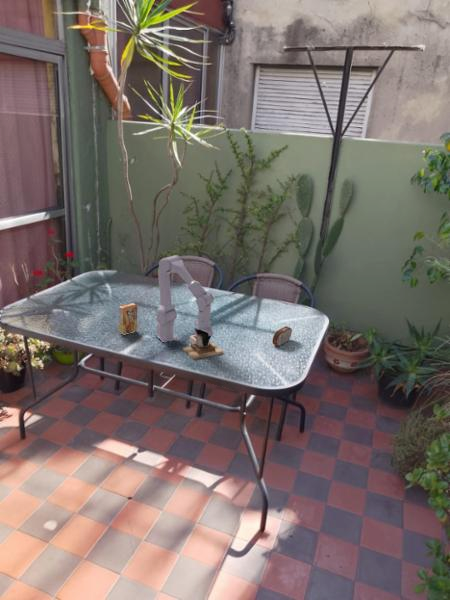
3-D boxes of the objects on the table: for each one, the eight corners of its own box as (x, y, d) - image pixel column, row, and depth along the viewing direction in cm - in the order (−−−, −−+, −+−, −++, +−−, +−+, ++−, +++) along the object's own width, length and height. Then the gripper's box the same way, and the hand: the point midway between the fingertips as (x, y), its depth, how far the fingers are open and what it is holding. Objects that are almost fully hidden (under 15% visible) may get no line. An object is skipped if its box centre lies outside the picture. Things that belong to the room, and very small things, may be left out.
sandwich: (286, 338, 241) (288, 323, 238) (292, 340, 239) (293, 325, 236) (271, 346, 230) (272, 331, 227) (276, 348, 228) (278, 333, 225)
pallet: (182, 349, 221) (182, 343, 220) (211, 343, 229) (211, 338, 228) (194, 359, 211) (194, 353, 210) (223, 353, 219) (223, 347, 218)
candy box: (132, 329, 241) (132, 302, 236) (137, 332, 238) (137, 304, 233) (119, 333, 235) (118, 306, 229) (123, 336, 232) (123, 308, 227)
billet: (195, 347, 220) (196, 334, 217) (204, 345, 222) (205, 332, 220) (199, 350, 216) (200, 337, 214) (208, 348, 219) (209, 335, 217)
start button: (194, 339, 230) (194, 333, 229) (200, 338, 232) (200, 332, 230) (197, 342, 227) (197, 335, 226) (203, 341, 229) (203, 334, 228)
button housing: (189, 341, 231) (189, 335, 230) (201, 338, 234) (201, 333, 233) (195, 346, 225) (196, 341, 224) (208, 344, 229) (208, 338, 228)
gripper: (189, 314, 218) (189, 339, 223) (204, 324, 206) (203, 351, 211) (202, 311, 222) (201, 337, 226) (217, 322, 210) (216, 348, 215)
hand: (203, 343), depth 219 cm, fingers closed on billet, 4 cm apart
